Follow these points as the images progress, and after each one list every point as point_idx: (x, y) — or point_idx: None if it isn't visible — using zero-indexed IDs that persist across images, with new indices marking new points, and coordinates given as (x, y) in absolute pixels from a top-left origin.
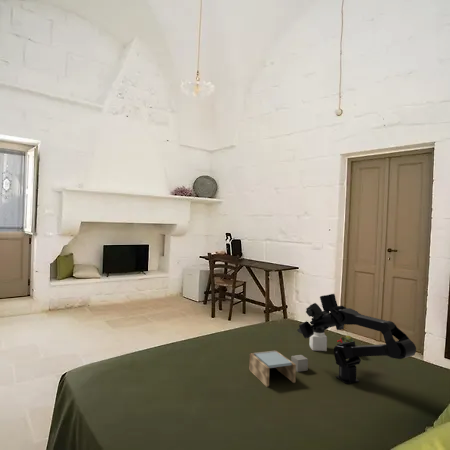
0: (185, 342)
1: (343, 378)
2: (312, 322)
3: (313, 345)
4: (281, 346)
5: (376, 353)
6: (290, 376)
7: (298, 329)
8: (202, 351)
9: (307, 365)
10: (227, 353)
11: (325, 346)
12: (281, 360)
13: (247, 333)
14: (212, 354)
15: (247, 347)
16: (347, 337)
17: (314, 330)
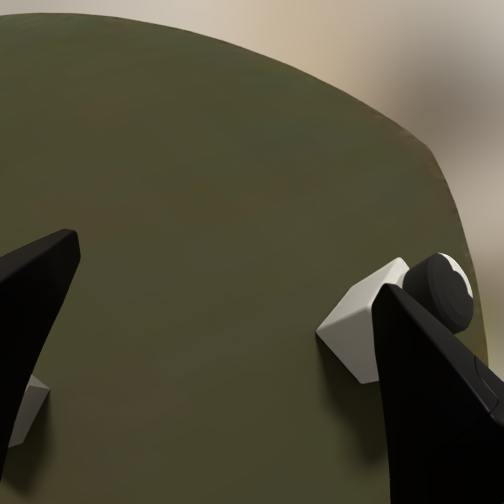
0: (75, 18)
1: None
2: (392, 332)
3: (334, 327)
4: (239, 187)
5: None
6: None
7: (27, 252)
8: (26, 51)
9: (11, 445)
10: (33, 85)
11: (373, 376)
12: None
13: (257, 75)
14: (11, 70)
15: (125, 98)
16: None
17: (410, 290)
